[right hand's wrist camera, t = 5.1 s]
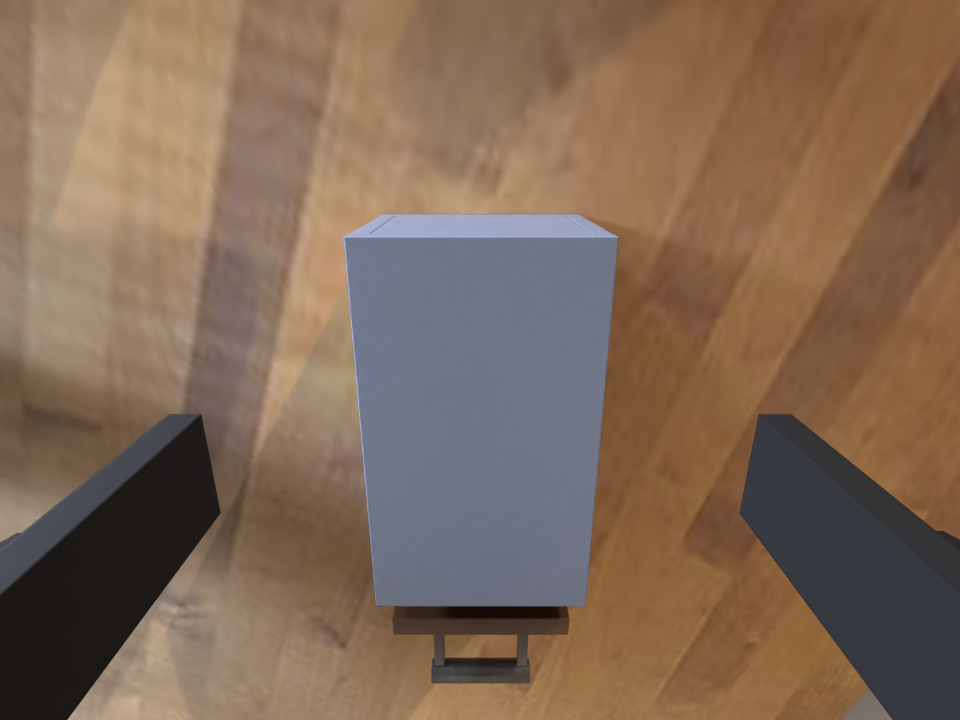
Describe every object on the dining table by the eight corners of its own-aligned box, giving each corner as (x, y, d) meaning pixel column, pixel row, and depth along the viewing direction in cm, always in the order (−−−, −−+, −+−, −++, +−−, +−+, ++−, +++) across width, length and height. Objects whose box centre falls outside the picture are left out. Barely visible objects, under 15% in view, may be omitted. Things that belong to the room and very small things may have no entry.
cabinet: (561, 503, 37) (585, 606, 28) (399, 503, 37) (375, 606, 28) (579, 214, 30) (619, 236, 22) (382, 214, 30) (343, 236, 22)
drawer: (548, 614, 39) (562, 709, 32) (413, 614, 39) (398, 709, 32) (567, 291, 31) (591, 329, 24) (394, 291, 31) (370, 329, 24)
